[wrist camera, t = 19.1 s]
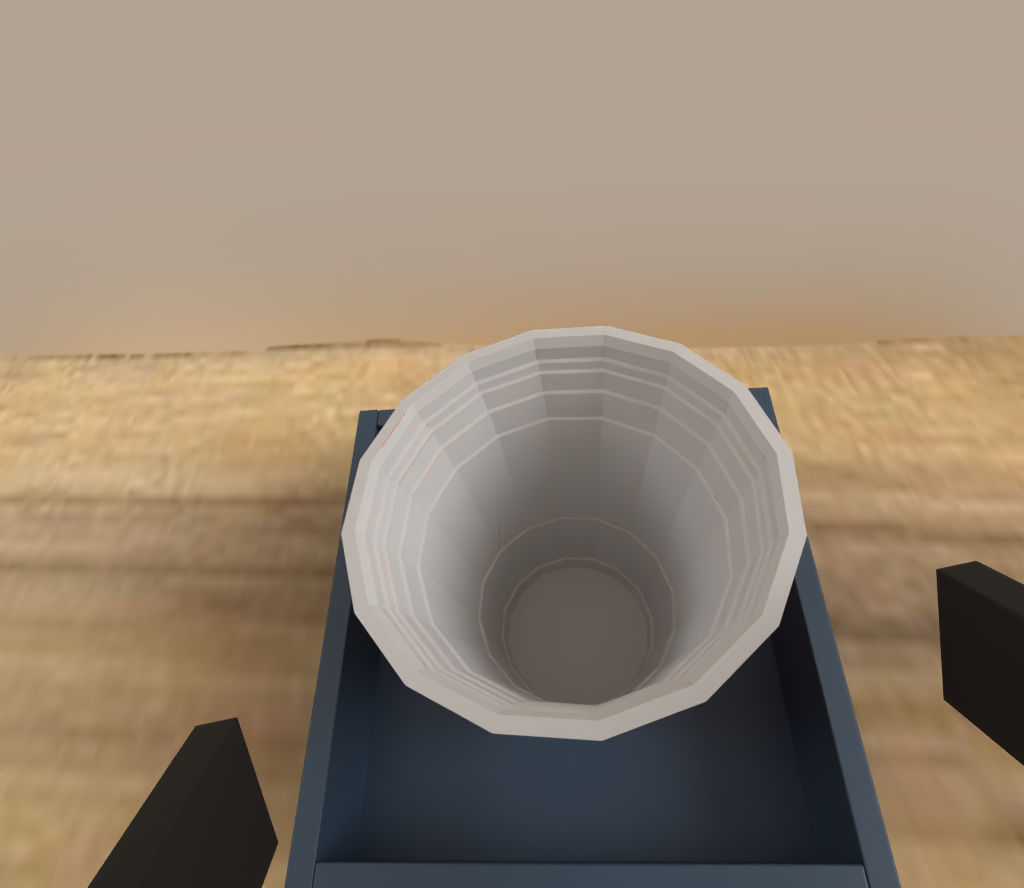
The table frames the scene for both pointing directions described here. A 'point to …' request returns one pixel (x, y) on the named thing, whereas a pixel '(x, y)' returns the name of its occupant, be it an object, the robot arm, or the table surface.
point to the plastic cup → (573, 533)
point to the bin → (590, 775)
